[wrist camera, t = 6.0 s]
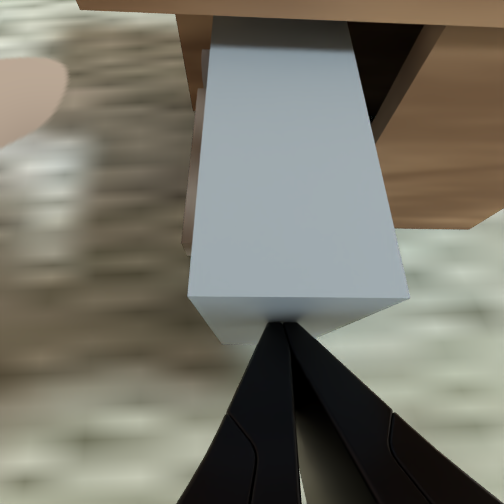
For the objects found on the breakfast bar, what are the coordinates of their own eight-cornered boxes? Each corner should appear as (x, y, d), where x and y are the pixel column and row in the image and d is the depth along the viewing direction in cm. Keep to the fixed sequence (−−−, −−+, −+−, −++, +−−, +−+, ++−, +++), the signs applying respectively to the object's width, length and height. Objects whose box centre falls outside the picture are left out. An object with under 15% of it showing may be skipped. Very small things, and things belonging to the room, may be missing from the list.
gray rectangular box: (300, 344, 14) (410, 298, 5) (202, 344, 14) (129, 296, 5) (285, 117, 20) (321, -89, 11) (217, 115, 20) (198, -96, 11)
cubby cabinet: (487, 259, 16) (1064, 1, 5) (176, 256, 16) (4, -51, 4) (429, 99, 22) (642, -205, 10) (195, 92, 21) (140, -242, 10)
